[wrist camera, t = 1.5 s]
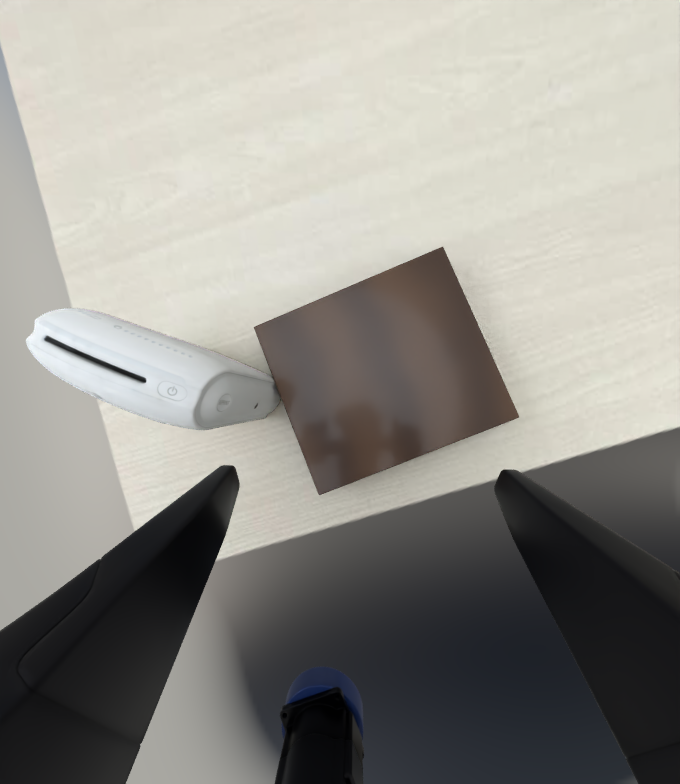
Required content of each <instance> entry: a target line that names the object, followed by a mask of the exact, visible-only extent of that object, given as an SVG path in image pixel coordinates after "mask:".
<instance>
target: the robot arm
mask: <svg viewBox="0 0 680 784" xmlns="http://www.w3.org/2000/svg"><path fill="white" fill-rule="evenodd" d="M238 491H239V479H238V475H237V472H236V468H235V467H234V466H227V465H223V466H220V467H219V468H218V469H216V470H215V471H214V472H212V473H211V474H210V475H208V476H207V477H206V478H204V479H203V480H202V481H201V482H199V483H198V484H197V485H195V486H194V487H193V488H191V489H190V490H189V491H187V492H186V493H185V494H184V495H182V496H181V497H180V498H178V499H177V500H176V501H174V502H173V503H172V504H170V505H169V506H168V507H167V508H165V509H164V510H163V511H161V512H160V513H159V514H157V515H156V516H155V517H153V518H152V519H151V520H150V521H148V522H147V523H146V524H144V525H143V526H142V527H140V528H139V529H138V530H136V531H135V532H134V533H132V534H131V535H130V536H129V537H127V538H126V539H125V540H123V541H122V542H121V543H119V544H118V545H117V546H115V548H113V549H112V550H110V551H109V552H108V553H107V554H105V555H104V556H103V557H102V558H101V559H99V560H97V561H96V562H95V563H93V564H92V565H91V566H89V567H88V568H87V569H85V570H84V571H83V572H81V573H80V574H79V575H77V576H76V577H75V578H73V579H72V580H71V581H69V582H68V583H67V584H65V585H64V586H63V587H61V588H60V589H58V590H57V591H56V592H54V593H53V594H52V595H50V596H49V597H48V598H46V599H45V600H43V601H42V602H40V603H39V604H38V605H36V606H35V607H34V608H32V609H31V610H29V611H28V612H26V613H25V614H24V615H22V616H21V617H19V618H18V619H16V620H15V621H14V622H12V623H11V624H9V625H8V626H6V627H5V628H4V629H2V630H1V631H0V784H126V781H127V779H128V776H129V774H130V771H131V769H132V766H133V764H134V761H135V759H136V756H137V754H138V751H139V749H140V744H141V743H142V741H143V739H144V736H145V733H146V731H147V729H148V726H149V724H150V721H151V719H152V716H153V714H154V711H155V709H156V706H157V704H158V701H159V699H160V696H161V694H162V691H163V689H164V687H165V684H166V682H167V679H168V677H169V674H170V672H171V669H172V666H173V664H174V662H175V659H176V657H177V654H178V652H179V649H180V647H181V644H182V642H183V639H184V637H185V635H186V632H187V629H188V627H189V625H190V622H191V619H192V617H193V615H194V612H195V610H196V607H197V605H198V602H199V600H200V597H201V595H202V592H203V590H204V587H205V585H206V582H207V580H208V578H209V575H210V573H211V570H212V568H213V565H214V563H215V560H216V558H217V555H218V553H219V550H220V548H221V545H222V543H223V540H224V538H225V535H226V532H227V529H228V525H229V522H230V518H231V515H232V512H233V508H234V505H235V501H236V498H237V494H238ZM494 491H495V495H496V497H497V500H498V502H499V505H500V507H501V510H502V512H503V515H504V517H505V520H506V522H507V525H508V527H509V530H510V532H511V534H512V537H513V539H514V541H515V543H516V545H517V548H518V549H519V552H520V553H521V555H522V557H523V559H524V561H525V563H526V565H527V567H528V569H529V571H530V573H531V575H532V577H533V579H534V581H535V583H536V585H537V587H538V589H539V590H540V592H541V594H542V596H543V598H544V600H545V602H546V604H547V606H548V608H549V610H550V612H551V614H552V616H553V618H554V620H555V622H556V624H557V625H558V628H559V629H560V631H561V633H562V635H563V637H564V639H565V641H566V643H567V645H568V647H569V649H570V651H571V653H572V655H573V657H574V659H575V661H576V663H577V665H578V666H579V668H580V670H581V672H582V674H583V676H584V678H585V680H586V682H587V684H588V686H589V688H590V690H591V692H592V694H593V696H594V698H595V700H596V702H597V703H598V705H599V707H600V709H601V711H602V713H603V715H604V717H605V719H606V721H607V723H608V725H609V727H610V729H611V731H612V732H613V735H614V736H615V739H616V741H617V743H618V744H619V746H620V748H621V750H622V752H623V754H624V756H625V757H626V760H627V763H628V765H629V766H630V768H631V770H632V772H633V774H634V776H635V778H636V780H637V782H638V784H680V573H679V572H678V571H675V570H672V568H671V567H670V566H668V565H666V564H665V563H663V562H662V561H660V560H659V559H657V558H655V557H654V556H652V555H651V554H649V553H647V552H646V551H644V550H643V549H641V548H639V547H638V546H636V545H635V544H633V543H632V542H630V541H628V540H627V539H625V538H624V537H622V536H620V535H619V534H617V533H615V532H614V531H613V530H611V529H609V528H608V527H606V526H605V525H603V524H601V523H599V522H598V521H597V520H595V519H594V518H592V517H590V516H589V515H587V514H585V513H584V512H582V511H580V510H579V509H578V508H576V507H574V506H573V505H571V504H570V503H568V502H567V501H565V500H563V499H562V498H560V497H559V496H557V495H555V494H554V493H552V492H550V491H549V490H547V489H546V488H544V487H543V486H541V485H540V484H538V483H536V482H535V481H533V480H532V479H530V478H528V477H527V476H525V475H524V474H522V473H521V472H519V471H517V470H502V471H501V472H500V475H499V477H498V479H497V481H496V484H495V486H494ZM336 694H338V695H336ZM280 718H281V721H282V724H283V727H284V729H285V737H284V742H283V747H282V751H281V757H280V761H279V766H278V770H277V775H276V780H275V784H363V761H362V760H363V758H364V747H363V745H362V737H361V734H360V731H359V729H358V726H357V723H356V721H355V718H354V715H353V713H352V712H351V711H350V710H349V707H348V705H347V702H346V699H345V697H344V694H343V691H342V689H341V688H340V687H334V688H332V689H329V690H326V691H323V692H320V693H317V694H314V695H312V696H309V697H306V698H303V699H300V700H297V701H295V702H292V703H289V704H286V705H284V706H282V708H281V712H280Z"/></svg>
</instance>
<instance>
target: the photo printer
mask: <svg viewBox="0 0 680 784" xmlns="http://www.w3.org/2000/svg"><path fill="white" fill-rule="evenodd" d="M26 343H27V346H28V348H29V350H30V351H31V353H32V354H33V356H34V357H35V358H36V359H37V360H38V361H39V362H40V363H41V364H42V365H43V366H44V367H45V368H46V369H47V370H49V371H50V372H51V373H53V374H54V375H56V376H57V377H59V378H60V379H62V380H63V381H65V382H67V383H69V384H70V385H72V386H74V387H76V388H77V389H79V390H81V391H83V392H85V393H87V394H89V395H92V396H93V397H96V398H98V399H100V400H102V401H104V402H107V403H109V404H111V405H114V406H116V407H119V408H121V409H124V410H126V411H128V412H131V413H134V414H137V415H139V416H142V417H146V418H148V419H151V420H154V421H157V422H160V423H164V424H170V425H173V426H178V427H182V428H188V429H196V430H209V429H214V428H219V427H224V426H229V425H234V424H239V423H244V422H249V421H254V420H259V419H264V418H266V416H267V414H268V413H271V412H272V411H273V410H274V409H275V408H276V407H277V405H278V404H279V401H280V397H281V396H280V393H279V391H278V388H277V386H276V383H275V380H274V378H273V377H271V376H269V375H267V374H265V373H263V372H261V371H259V370H257V369H255V368H252V367H250V366H248V365H245V364H243V363H241V362H238V361H236V360H233V359H231V358H228V357H226V356H223V355H221V354H218V353H216V352H213V351H211V350H208V349H205V348H203V347H200V346H197V345H195V344H192V343H189V342H186V341H183V340H180V339H177V338H174V337H171V336H168V335H166V334H163V333H160V332H157V331H154V330H151V329H148V328H145V327H142V326H139V325H137V324H134V323H131V322H128V321H125V320H122V319H119V318H117V317H114V316H111V315H108V314H105V313H102V312H98V311H93V310H87V309H79V308H63V309H57V310H53V311H50V312H47V313H45V314H43V315H41V316H39V317H38V318H37V319H36V320H35V329H34V331H33V333H32V334H31V335H30V336H29V337H28V338H27V339H26Z"/></svg>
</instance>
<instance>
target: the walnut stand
mask: <svg viewBox="0 0 680 784" xmlns="http://www.w3.org/2000/svg"><path fill="white" fill-rule="evenodd" d="M254 329H255V332H256V334H257V337H258V339H259V342H260V344H261V347H262V350H263V352H264V355H265V357H266V360H267V362H268V365H269V368H270V370H271V373H272V375H273V378H274V380H275V383H276V386H277V388H278V391H279V393H280V396H281V399H282V401H283V404H284V406H285V409H286V411H287V414H288V417H289V419H290V422H291V424H292V427H293V429H294V432H295V435H296V437H297V440H298V442H299V445H300V447H301V450H302V453H303V455H304V458H305V460H306V463H307V466H308V468H309V471H310V473H311V476H312V478H313V481H314V484H315V486H316V489H317V491H318V494H319V495H321V494H324V493H326V492H329V491H331V490H334V489H337V488H339V487H342V486H344V485H347V484H349V483H352V482H354V481H357V480H360V479H362V478H365V477H367V476H370V475H372V474H375V473H378V472H380V471H383V470H385V469H388V468H390V467H393V466H396V465H398V464H401V463H403V462H406V461H408V460H411V459H414V458H416V457H419V456H421V455H424V454H426V453H429V452H432V451H434V450H437V449H439V448H442V447H444V446H447V445H450V444H452V443H455V442H457V441H460V440H462V439H465V438H468V437H470V436H473V435H475V434H478V433H480V432H483V431H486V430H488V429H491V428H493V427H496V426H498V425H501V424H503V423H506V422H509V421H511V420H514V419H516V418H519V415H518V413H517V411H516V408H515V406H514V404H513V402H512V400H511V397H510V395H509V393H508V391H507V388H506V386H505V384H504V382H503V379H502V377H501V375H500V373H499V371H498V368H497V366H496V364H495V362H494V359H493V357H492V355H491V353H490V351H489V348H488V346H487V344H486V342H485V339H484V337H483V335H482V333H481V330H480V328H479V326H478V324H477V322H476V319H475V317H474V315H473V313H472V310H471V308H470V306H469V304H468V302H467V299H466V297H465V295H464V293H463V290H462V288H461V286H460V284H459V281H458V279H457V277H456V275H455V273H454V270H453V268H452V266H451V264H450V261H449V259H448V257H447V255H446V252H445V250H444V248H443V247H441V248H439V249H436V250H434V251H431V252H429V253H427V254H424V255H422V256H420V257H417V258H415V259H413V260H410V261H408V262H406V263H403V264H401V265H399V266H396V267H394V268H392V269H389V270H387V271H385V272H382V273H380V274H378V275H375V276H373V277H370V278H368V279H366V280H363V281H361V282H359V283H356V284H354V285H352V286H349V287H347V288H345V289H342V290H340V291H338V292H335V293H333V294H331V295H328V296H326V297H324V298H321V299H319V300H317V301H314V302H312V303H309V304H307V305H305V306H302V307H300V308H298V309H295V310H293V311H291V312H288V313H286V314H284V315H281V316H279V317H277V318H274V319H272V320H270V321H267V322H265V323H263V324H260V325H258V326H256V327H254Z"/></svg>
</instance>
